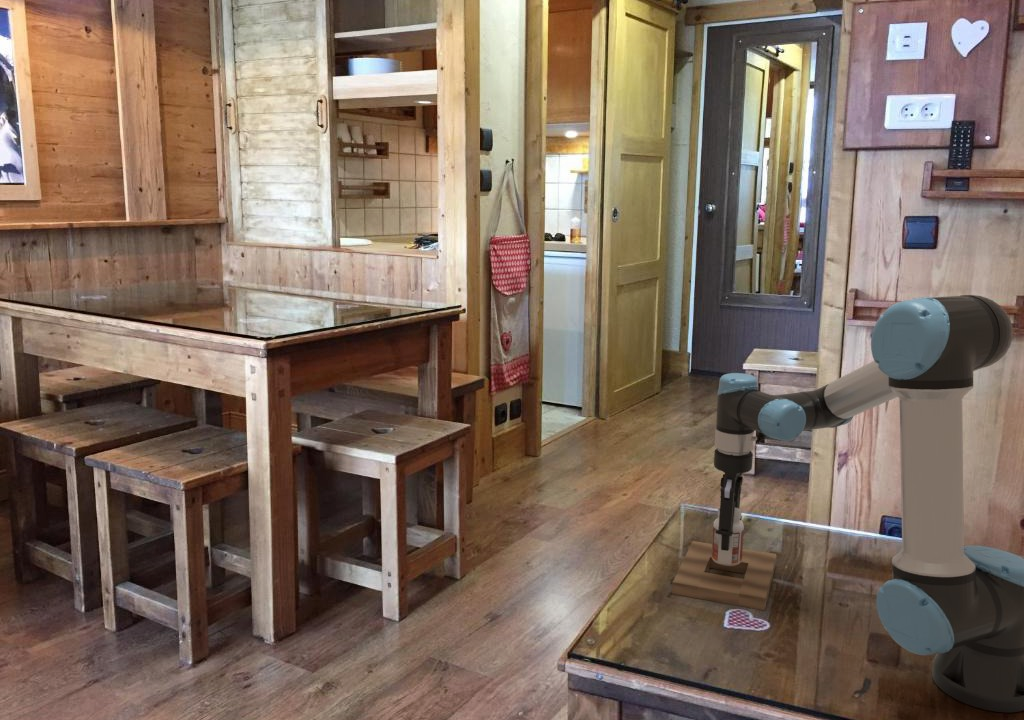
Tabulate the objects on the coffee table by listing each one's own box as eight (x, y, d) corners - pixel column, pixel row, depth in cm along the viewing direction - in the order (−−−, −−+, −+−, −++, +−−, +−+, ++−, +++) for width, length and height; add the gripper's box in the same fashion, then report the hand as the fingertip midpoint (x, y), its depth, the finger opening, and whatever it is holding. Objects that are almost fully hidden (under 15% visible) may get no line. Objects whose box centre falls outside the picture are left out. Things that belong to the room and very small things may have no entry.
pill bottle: (723, 551, 186) (726, 502, 183) (748, 561, 181) (751, 511, 179) (705, 559, 182) (708, 509, 180) (729, 569, 177) (732, 518, 175)
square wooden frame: (764, 610, 169) (765, 598, 168) (672, 593, 175) (672, 582, 175) (775, 564, 189) (776, 554, 188) (692, 551, 195) (692, 541, 195)
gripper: (746, 466, 166) (739, 578, 171) (758, 439, 184) (751, 541, 189) (707, 461, 169) (700, 572, 174) (722, 435, 186) (715, 536, 191)
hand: (726, 556), depth 181 cm, fingers closed on pill bottle, 6 cm apart
